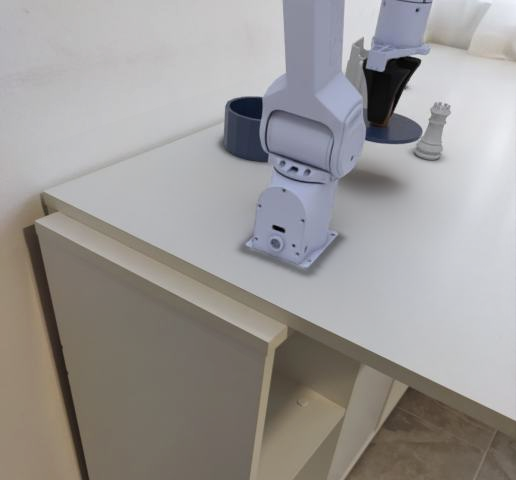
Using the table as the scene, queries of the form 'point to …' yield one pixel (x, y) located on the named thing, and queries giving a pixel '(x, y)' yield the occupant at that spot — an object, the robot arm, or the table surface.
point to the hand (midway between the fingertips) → (379, 119)
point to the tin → (244, 128)
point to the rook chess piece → (433, 133)
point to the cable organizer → (358, 69)
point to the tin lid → (392, 129)
